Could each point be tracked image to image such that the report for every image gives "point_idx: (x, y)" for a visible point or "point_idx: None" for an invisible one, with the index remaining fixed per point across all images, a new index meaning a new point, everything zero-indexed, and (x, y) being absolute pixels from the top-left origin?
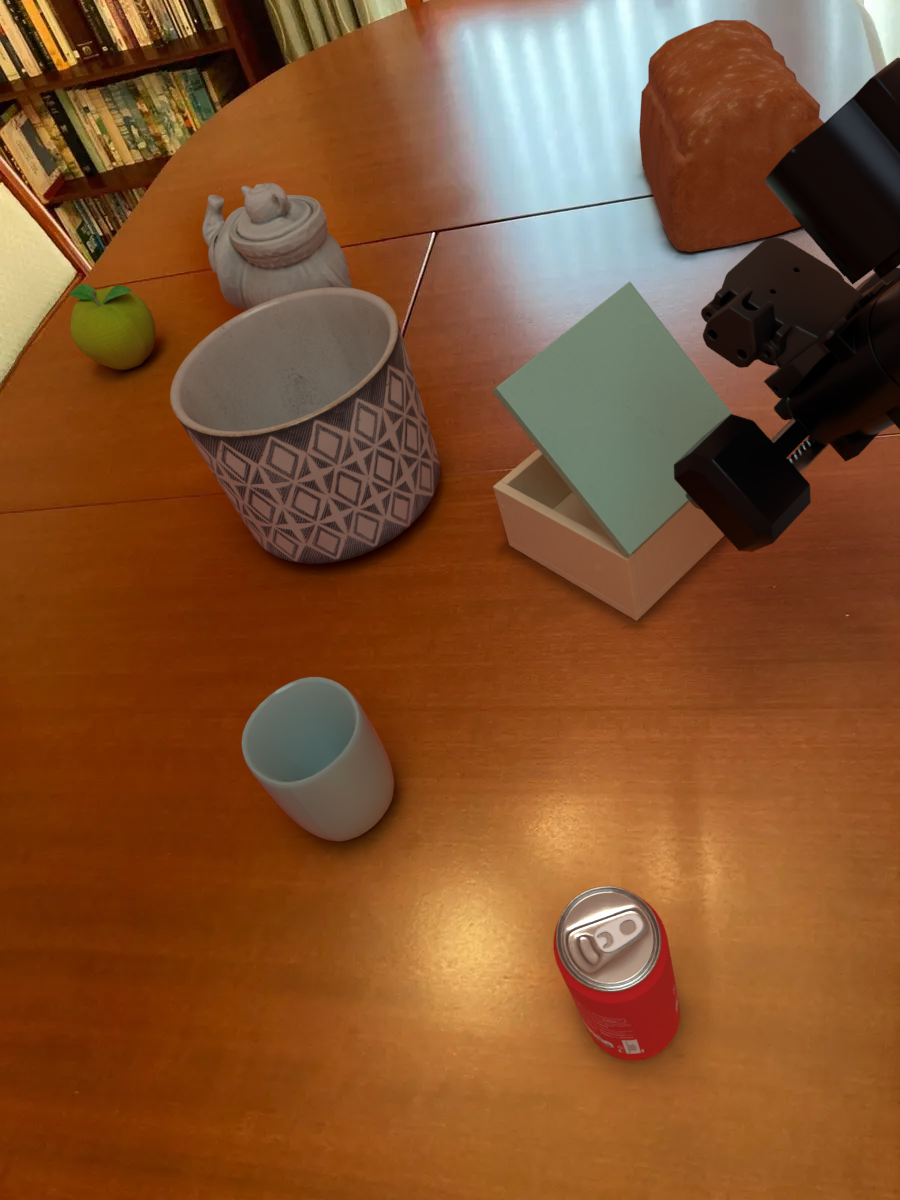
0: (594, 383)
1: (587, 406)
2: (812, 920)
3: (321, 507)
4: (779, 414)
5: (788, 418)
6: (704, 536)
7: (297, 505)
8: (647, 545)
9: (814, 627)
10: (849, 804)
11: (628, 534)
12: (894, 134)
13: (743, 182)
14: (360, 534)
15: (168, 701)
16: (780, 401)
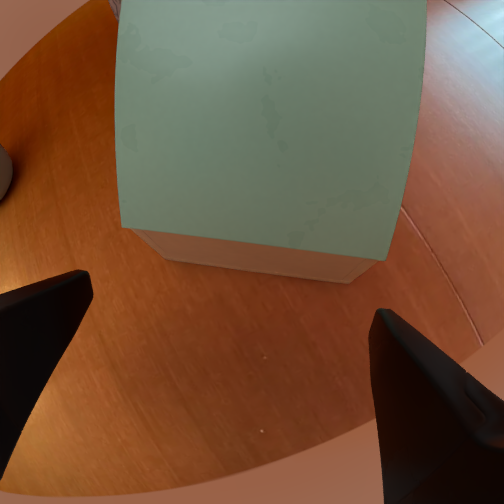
0: (248, 15)
1: (209, 34)
2: (36, 461)
3: (118, 11)
4: (372, 325)
5: (369, 347)
6: (274, 268)
7: (110, 3)
8: (163, 233)
9: (233, 412)
10: (99, 474)
11: (134, 209)
12: None
13: None
14: None
15: (44, 71)
16: (385, 323)
